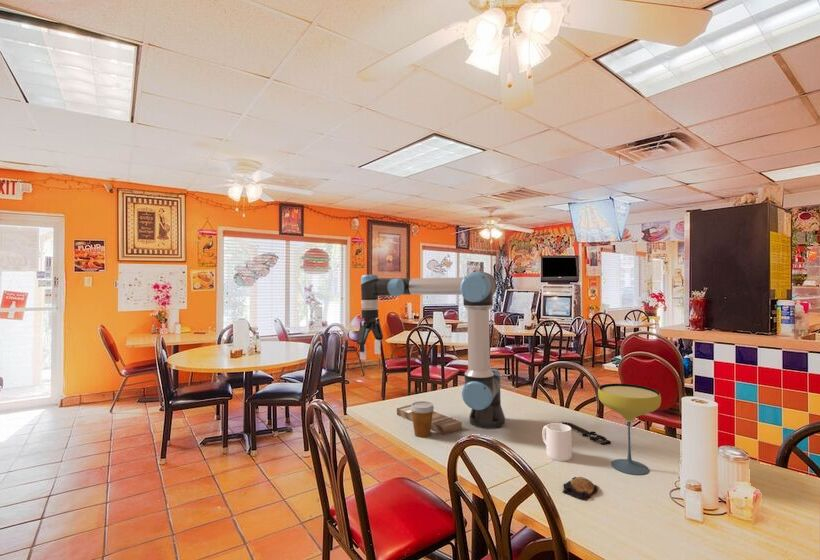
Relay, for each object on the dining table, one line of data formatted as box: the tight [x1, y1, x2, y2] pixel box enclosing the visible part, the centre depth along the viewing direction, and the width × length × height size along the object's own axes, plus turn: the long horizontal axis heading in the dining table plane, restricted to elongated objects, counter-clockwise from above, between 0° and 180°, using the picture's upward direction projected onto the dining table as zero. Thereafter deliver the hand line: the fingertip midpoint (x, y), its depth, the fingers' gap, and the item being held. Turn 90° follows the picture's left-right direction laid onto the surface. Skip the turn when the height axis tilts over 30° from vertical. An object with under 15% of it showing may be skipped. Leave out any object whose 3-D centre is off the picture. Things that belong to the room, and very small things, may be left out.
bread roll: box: [561, 476, 599, 502], centre depth 120 cm, size 11×8×4 cm
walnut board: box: [396, 404, 463, 436], centre depth 180 cm, size 32×10×3 cm, turn 37°
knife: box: [561, 421, 612, 446], centre depth 164 cm, size 25×6×1 cm, turn 13°
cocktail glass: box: [597, 383, 662, 476], centre depth 134 cm, size 18×18×25 cm
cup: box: [541, 422, 573, 462], centre depth 144 cm, size 8×12×10 cm
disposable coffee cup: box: [410, 401, 435, 438], centre depth 165 cm, size 10×10×12 cm
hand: (370, 356), depth 184 cm, fingers open, 13 cm apart
